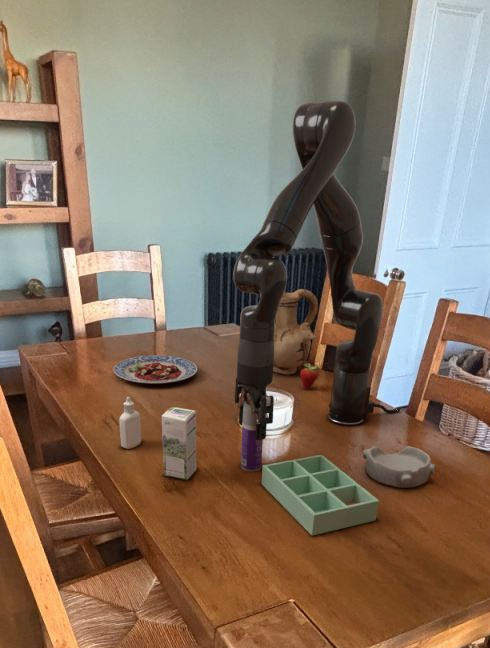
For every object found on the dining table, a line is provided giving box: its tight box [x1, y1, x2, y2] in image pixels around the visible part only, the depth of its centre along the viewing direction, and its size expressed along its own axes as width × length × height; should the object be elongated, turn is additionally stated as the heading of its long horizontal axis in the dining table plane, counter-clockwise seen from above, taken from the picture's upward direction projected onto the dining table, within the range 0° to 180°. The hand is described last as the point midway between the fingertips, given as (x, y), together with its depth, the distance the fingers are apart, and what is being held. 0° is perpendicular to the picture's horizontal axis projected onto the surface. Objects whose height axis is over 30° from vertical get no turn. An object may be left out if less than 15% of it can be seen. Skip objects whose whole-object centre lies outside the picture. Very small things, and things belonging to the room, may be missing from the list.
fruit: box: [300, 362, 319, 390], centre depth 182 cm, size 5×5×8 cm
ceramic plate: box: [113, 354, 198, 385], centre depth 190 cm, size 26×26×3 cm
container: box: [240, 403, 264, 473], centre depth 136 cm, size 5×5×15 cm
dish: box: [362, 445, 436, 489], centre depth 137 cm, size 14×14×5 cm
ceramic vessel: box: [273, 288, 319, 376], centre depth 191 cm, size 18×19×25 cm
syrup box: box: [161, 406, 198, 481], centre depth 132 cm, size 6×6×14 cm
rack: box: [261, 454, 380, 536], centre depth 126 cm, size 15×22×5 cm
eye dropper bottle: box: [118, 396, 143, 450], centre depth 144 cm, size 4×6×12 cm
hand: (251, 431), depth 135 cm, fingers open, 8 cm apart
